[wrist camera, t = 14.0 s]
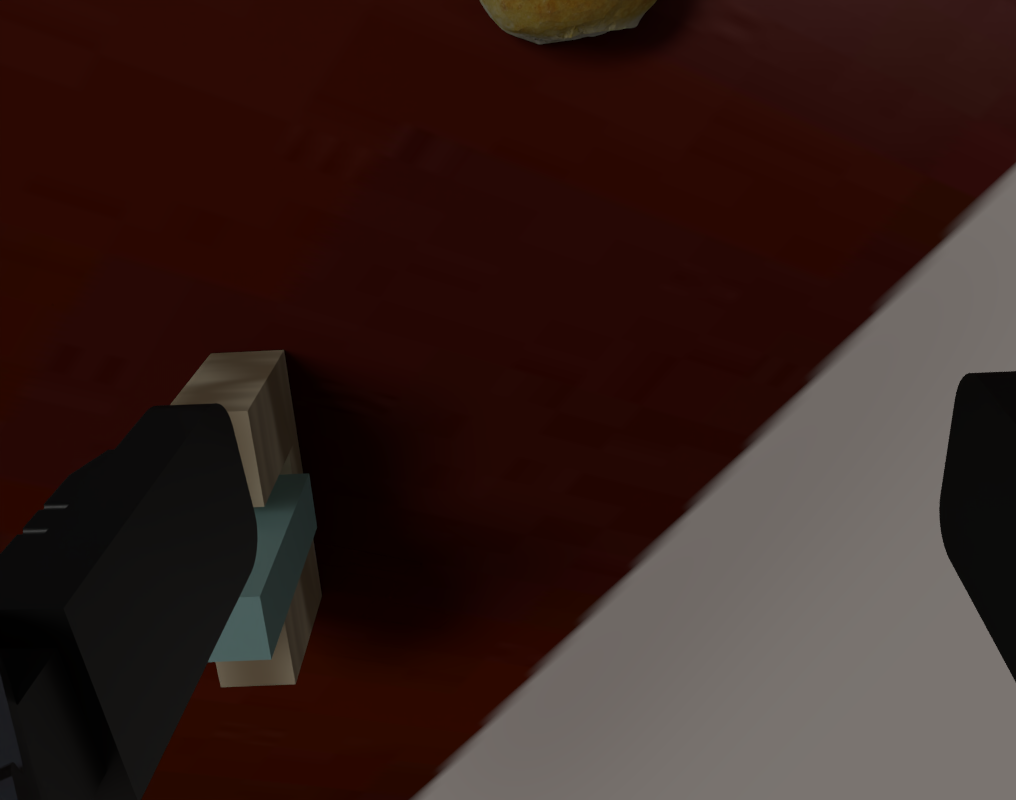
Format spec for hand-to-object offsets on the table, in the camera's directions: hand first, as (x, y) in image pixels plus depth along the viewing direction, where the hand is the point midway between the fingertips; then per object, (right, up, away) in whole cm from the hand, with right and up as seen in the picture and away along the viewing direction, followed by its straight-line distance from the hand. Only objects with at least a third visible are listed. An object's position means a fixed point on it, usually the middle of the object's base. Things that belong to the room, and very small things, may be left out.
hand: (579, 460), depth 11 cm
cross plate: (-13, -4, +36) cm, 38 cm away
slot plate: (-13, -3, +38) cm, 40 cm away
